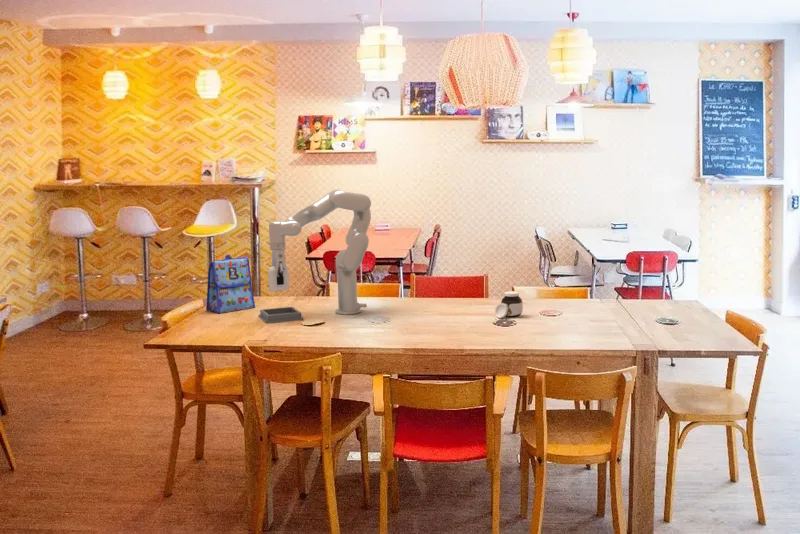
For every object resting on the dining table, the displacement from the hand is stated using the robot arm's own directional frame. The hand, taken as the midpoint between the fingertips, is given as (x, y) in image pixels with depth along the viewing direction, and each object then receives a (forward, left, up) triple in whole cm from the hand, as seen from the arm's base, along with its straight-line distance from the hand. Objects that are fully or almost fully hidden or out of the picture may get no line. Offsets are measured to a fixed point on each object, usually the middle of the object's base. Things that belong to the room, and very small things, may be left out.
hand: (279, 283), depth 417 cm
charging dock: (0, 0, -17) cm, 17 cm away
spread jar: (-100, +48, -18) cm, 112 cm away
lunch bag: (+18, -34, -18) cm, 42 cm away
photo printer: (0, 0, -4) cm, 4 cm away
